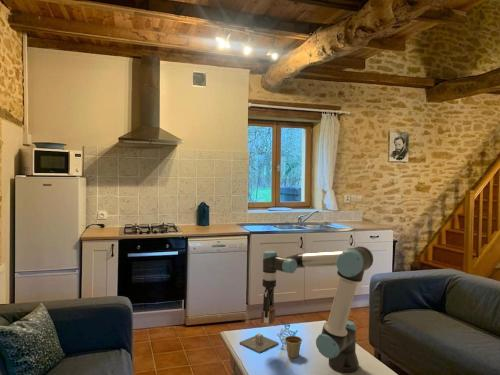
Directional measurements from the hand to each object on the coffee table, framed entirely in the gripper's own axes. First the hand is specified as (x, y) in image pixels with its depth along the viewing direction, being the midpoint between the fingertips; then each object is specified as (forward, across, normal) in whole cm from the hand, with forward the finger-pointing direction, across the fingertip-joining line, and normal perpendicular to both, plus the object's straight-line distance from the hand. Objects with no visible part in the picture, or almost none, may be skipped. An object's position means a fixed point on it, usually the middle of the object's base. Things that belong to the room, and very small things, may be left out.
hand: (268, 320), depth 203 cm
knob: (0, 0, 0) cm, 0 cm away
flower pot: (+18, -1, +14) cm, 23 cm away
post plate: (+18, -7, -7) cm, 20 cm away
